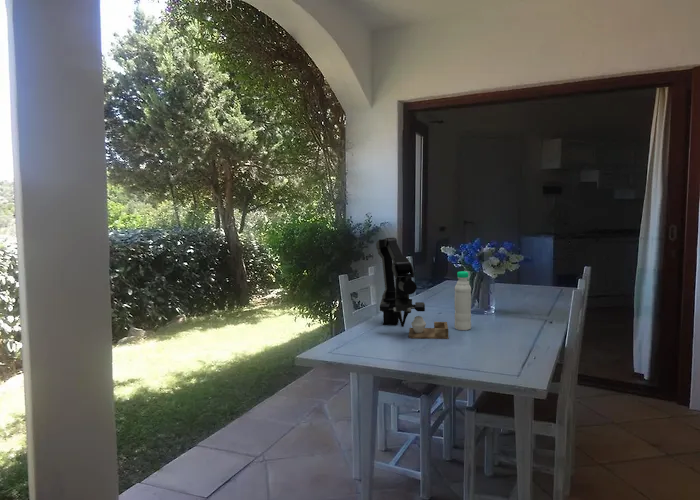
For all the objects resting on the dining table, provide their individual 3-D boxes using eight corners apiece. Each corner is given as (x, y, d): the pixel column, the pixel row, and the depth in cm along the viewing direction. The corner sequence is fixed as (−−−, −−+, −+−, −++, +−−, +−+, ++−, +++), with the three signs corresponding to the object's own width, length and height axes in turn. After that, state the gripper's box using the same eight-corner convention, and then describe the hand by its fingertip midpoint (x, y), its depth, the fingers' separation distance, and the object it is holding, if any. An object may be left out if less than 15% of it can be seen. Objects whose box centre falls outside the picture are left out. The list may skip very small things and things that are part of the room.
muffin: (422, 334, 202) (422, 318, 201) (408, 332, 206) (408, 316, 205) (428, 331, 207) (428, 315, 207) (415, 329, 211) (415, 313, 210)
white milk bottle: (471, 327, 216) (471, 270, 213) (470, 331, 209) (470, 273, 207) (455, 326, 218) (455, 270, 215) (453, 330, 211) (453, 272, 209)
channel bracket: (408, 338, 200) (408, 329, 200) (409, 329, 214) (409, 321, 213) (448, 339, 198) (448, 329, 197) (446, 330, 211) (446, 321, 211)
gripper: (378, 293, 199) (378, 331, 201) (424, 293, 196) (424, 332, 198) (380, 288, 210) (381, 324, 212) (424, 289, 207) (424, 325, 209)
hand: (402, 326), depth 207 cm, fingers closed
